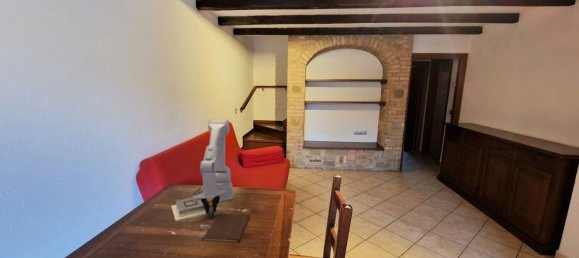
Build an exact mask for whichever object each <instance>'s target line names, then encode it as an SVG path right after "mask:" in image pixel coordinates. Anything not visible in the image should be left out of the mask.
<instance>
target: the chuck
mask: <svg viewBox="0 0 579 258" xmlns="http://www.w3.org/2000/svg"><path fill="white" fill-rule="evenodd" d="M177 200H178V199H177ZM177 200H175V205H176V208H177V211H178V213H179V216H180V217H182V216H187V215H191V214H195V213H199V212H203V211H205V208H204V205H203V203H202V201H201V200H198V201H196V202H194V200H193V197H188V198H182V199H180V200H178V201H177Z"/></svg>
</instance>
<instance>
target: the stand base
mask: <svg viewBox="0 0 579 258" xmlns="http://www.w3.org/2000/svg"><path fill="white" fill-rule="evenodd" d="M171 210H172V214H173V215H172V216H173V218H174V221H175V223H178V222H182V221H186V220H189V219H190V220H191V219H195V218H199V217H202V216H206V215H207V216H208V214H206V212H205V211H203V212H199V213H195V214H191V215H187V216H182V217H180V216H179V213H178V211H177V208H176V204H173V205H171Z"/></svg>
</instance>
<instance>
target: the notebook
mask: <svg viewBox="0 0 579 258" xmlns="http://www.w3.org/2000/svg"><path fill="white" fill-rule="evenodd" d="M250 217H251V216H250V214H247V213H241V214H239V213H238V214H237V213H218V215H217V216H216V218H215V219H214V221H213V223H212V224H210V227H209V228H208V230H207V231H206V233H205V234H204V235H203V237H202V238H201V240H202V241H208V242H210V241H211V242H212V241H213V242H227V243H228V242H229V243H231V242H232V243H239V242H240V240H241V237H242V235H243V233H244V231H245V229H246V226H247V224H248V222H249V219H250Z"/></svg>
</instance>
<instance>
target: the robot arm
mask: <svg viewBox="0 0 579 258" xmlns="http://www.w3.org/2000/svg"><path fill="white" fill-rule="evenodd" d="M207 129H208V131H209V133H210V137H209V145H207V146H206V147H205V152H204V154H203V155H204V157H203V160H201V161H200V165H199V170H200V174H201V176H202V189H203V192H201V193H199V194H198V195H197V196H195V195H194V196H193V195H192V196H193V200H194V202H196V201H198V200H201V201H202V203H203V205H204V208H205V212H206V214H207V215H208V199H209V200H214V213H216V212H217V207H218V205H219V203H221V202H225V201H229V200H234V197H233V196H234V194H233V193H234V192H233V191H234V189H233V183H232V181H231V177H232V173H231V168H230V167H228V166H227V165H226V136H227V135H229V134H230V120H229V119H228V118H226V119H225V118H224V119H223V118H222V119H220V118H219V119H217V118H216V119H215V118H209V120H208V122H207Z"/></svg>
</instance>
